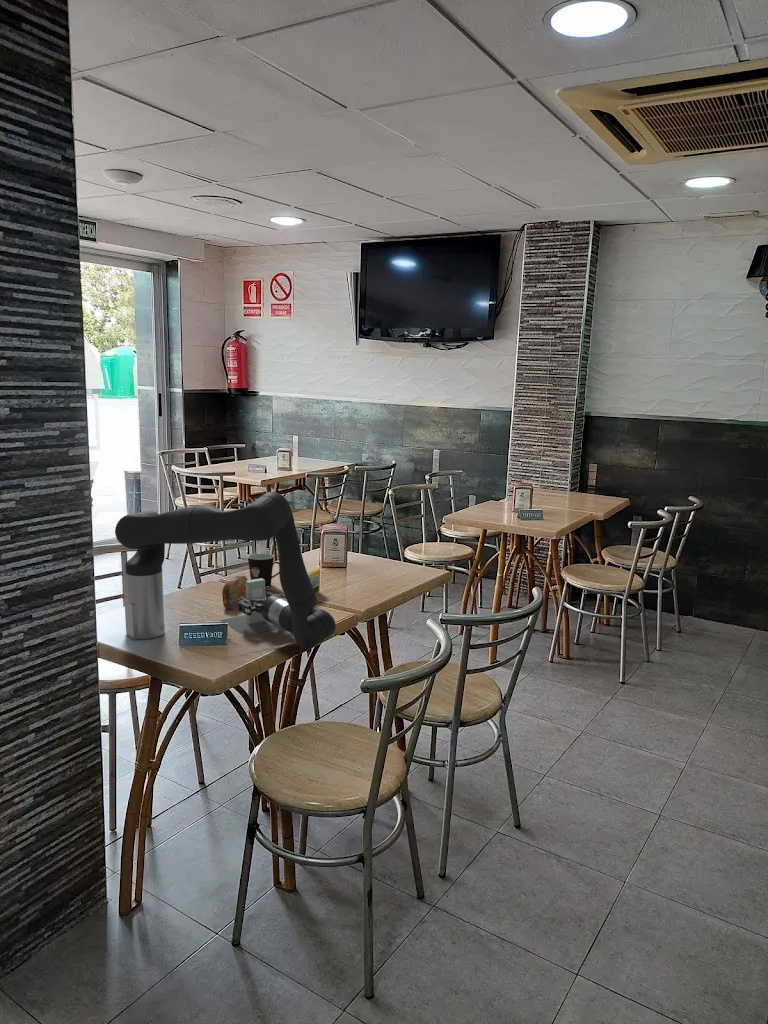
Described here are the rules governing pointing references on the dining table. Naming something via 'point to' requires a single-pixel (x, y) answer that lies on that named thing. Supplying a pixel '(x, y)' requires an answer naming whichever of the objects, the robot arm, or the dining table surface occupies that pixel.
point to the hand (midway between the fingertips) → (253, 597)
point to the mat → (249, 625)
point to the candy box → (315, 579)
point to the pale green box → (255, 597)
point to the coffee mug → (261, 567)
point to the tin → (234, 591)
